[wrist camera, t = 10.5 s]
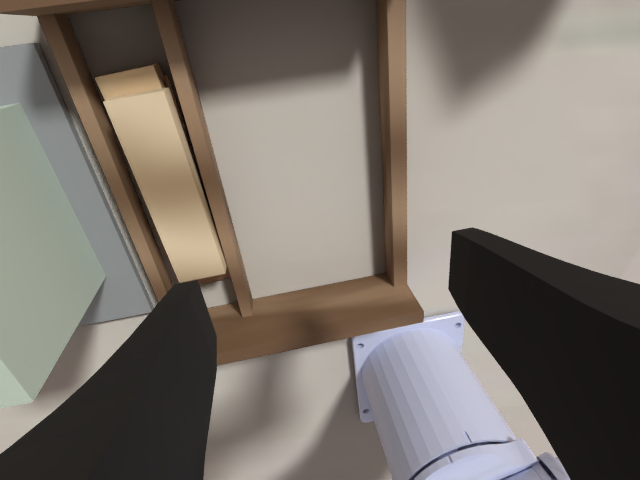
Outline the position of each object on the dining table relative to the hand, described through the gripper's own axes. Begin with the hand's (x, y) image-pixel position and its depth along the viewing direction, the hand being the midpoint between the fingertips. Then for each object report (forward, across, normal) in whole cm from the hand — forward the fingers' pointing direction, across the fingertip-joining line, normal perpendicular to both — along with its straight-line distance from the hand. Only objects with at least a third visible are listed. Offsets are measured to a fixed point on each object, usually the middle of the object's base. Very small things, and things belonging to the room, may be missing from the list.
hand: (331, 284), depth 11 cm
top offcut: (+9, +6, 0) cm, 11 cm away
